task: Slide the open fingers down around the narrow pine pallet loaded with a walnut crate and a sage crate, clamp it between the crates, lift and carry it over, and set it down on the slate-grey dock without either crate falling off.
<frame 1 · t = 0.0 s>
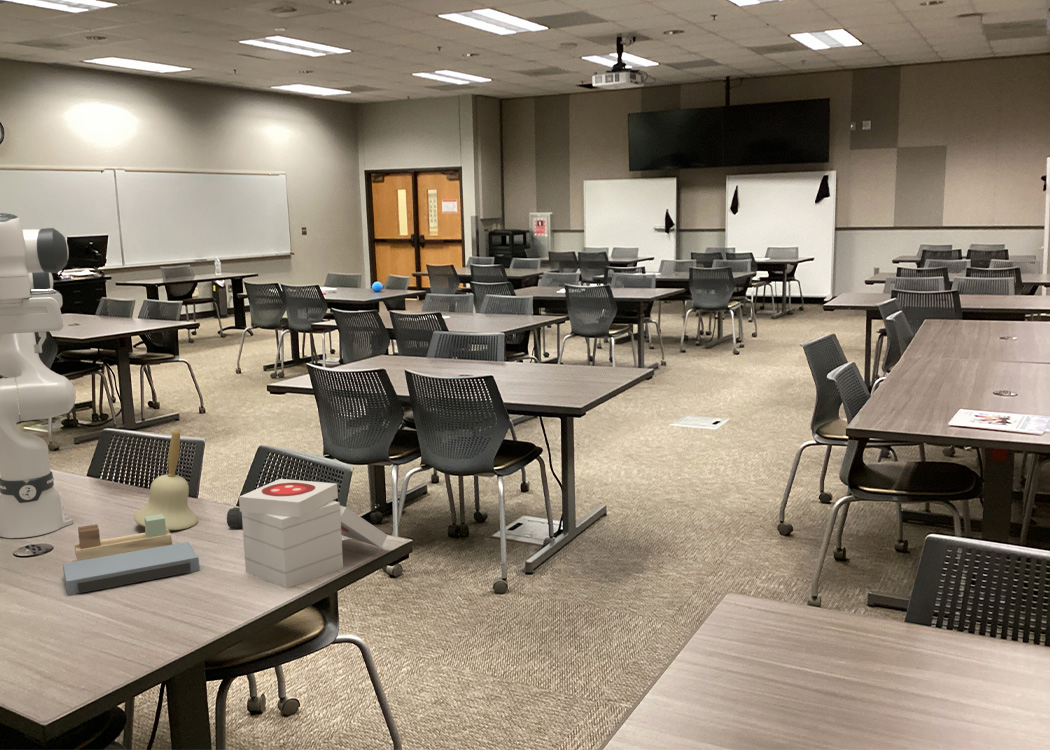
hand: (13, 354, 197), 48 cm above the table, fingers open, 8 cm apart
crate b: (155, 534, 213), point 4 cm above the table, touching pallet
handbell: (166, 525, 233), on the table
flashlight: (260, 528, 229), on the table
pallet: (125, 556, 210), on the table, touching crate a, crate b
pizza boxes: (314, 563, 204), on the table
dock: (132, 573, 199), on the table
crate a: (89, 545, 206), point 4 cm above the table, touching pallet
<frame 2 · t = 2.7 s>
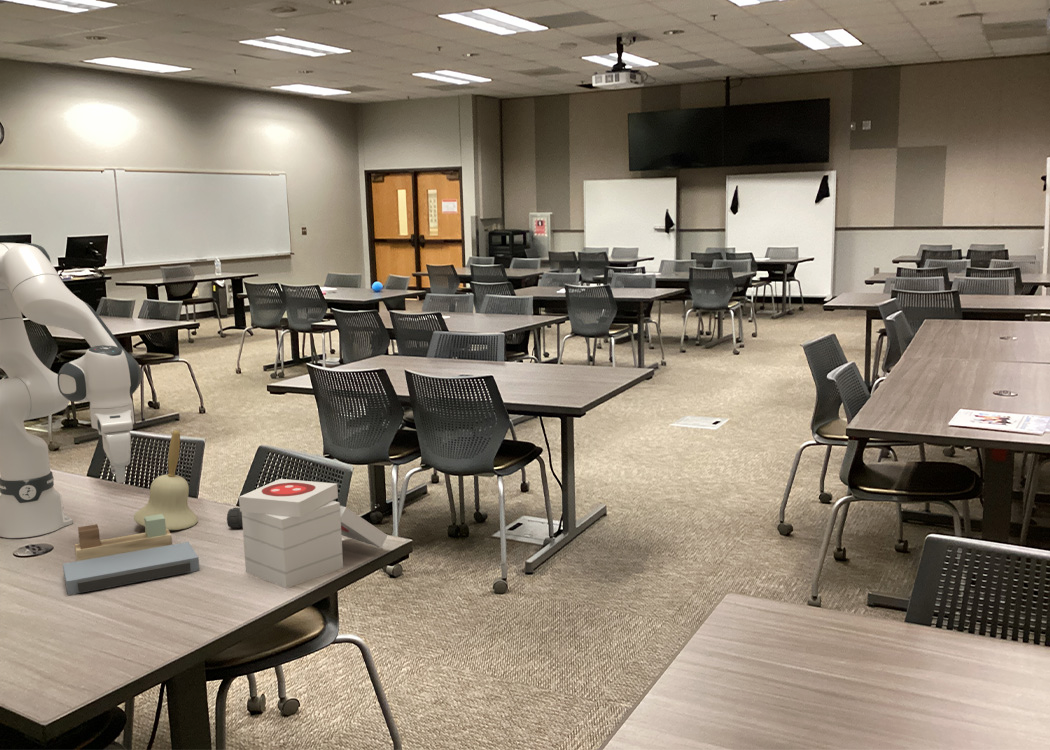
hand: (118, 477, 207), 19 cm above the table, fingers open, 8 cm apart
nothing on the table moved.
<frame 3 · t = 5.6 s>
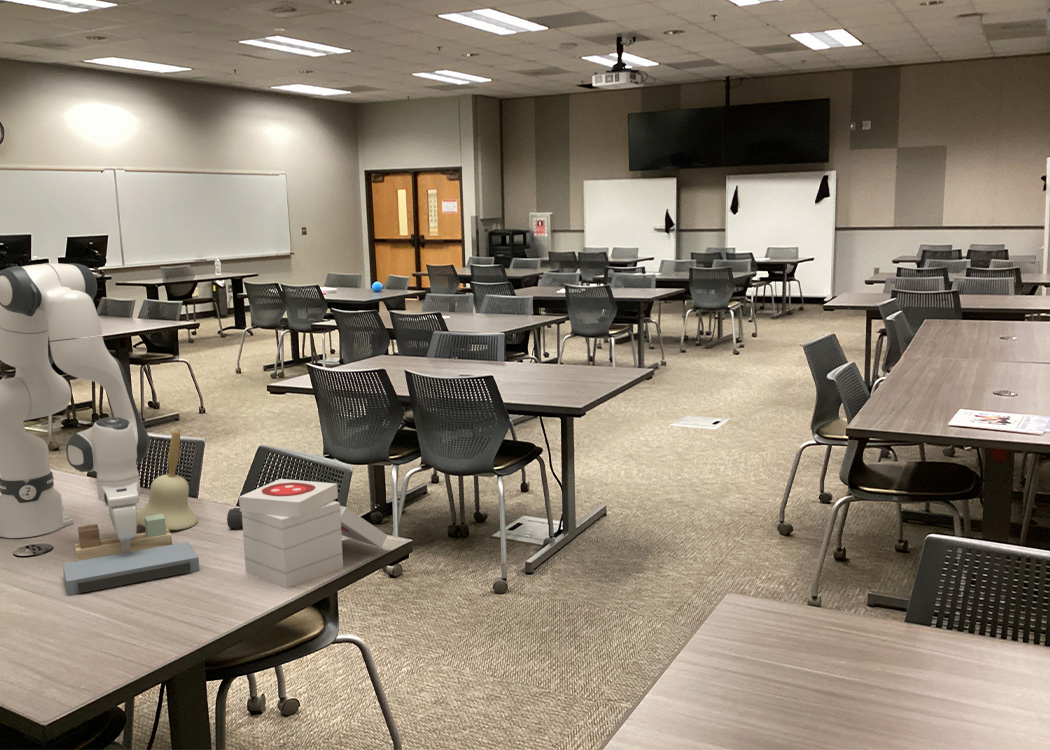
hand: (124, 547, 210), 2 cm above the table, fingers closed on pallet, 5 cm apart
pallet: (125, 556, 210), on the table, touching crate a, crate b, gripper
everything else where it was.
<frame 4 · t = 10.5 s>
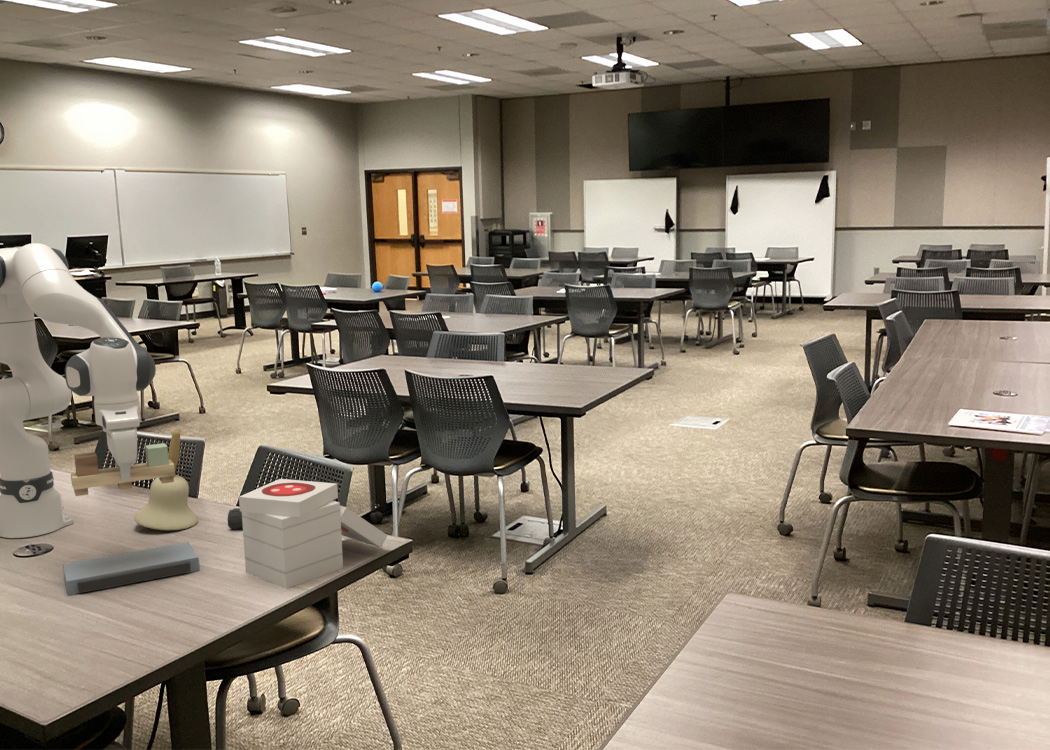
hand: (123, 477, 196), 22 cm above the table, fingers closed on pallet, 5 cm apart
crate b: (157, 463, 200), point 23 cm above the table, touching pallet
pallet: (124, 486, 197), point 19 cm above the table, touching crate a, crate b, gripper
crate a: (87, 473, 193), point 23 cm above the table, touching pallet
everything else where it was.
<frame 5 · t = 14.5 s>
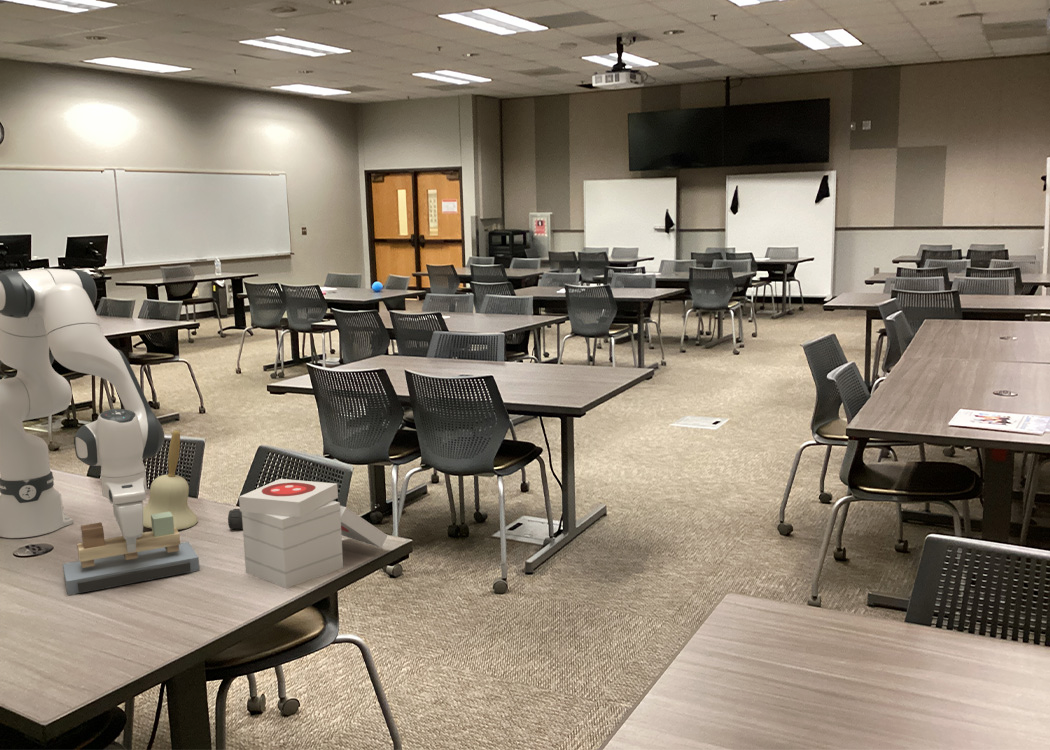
hand: (129, 546, 198), 6 cm above the table, fingers closed on pallet, 5 cm apart
crate b: (163, 532, 201), point 8 cm above the table, touching pallet
pallet: (130, 556, 199), point 4 cm above the table, touching crate a, crate b, gripper
crate a: (93, 544, 195), point 8 cm above the table, touching pallet
everything else where it was.
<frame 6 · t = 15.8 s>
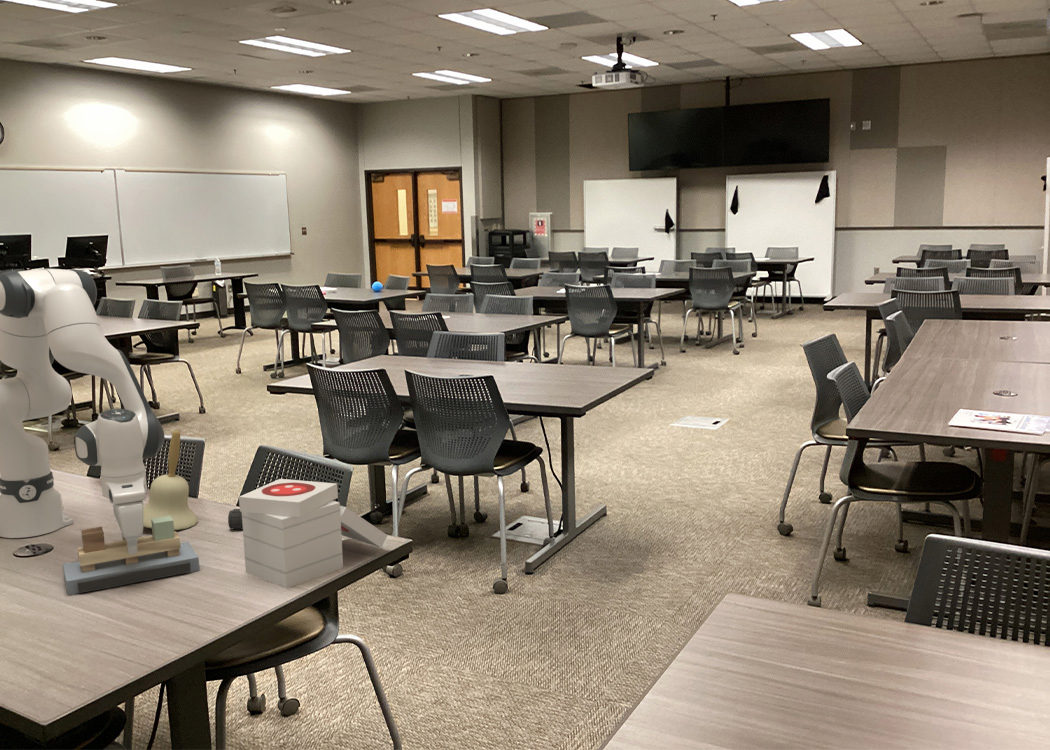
hand: (129, 546, 198), 6 cm above the table, fingers open, 8 cm apart
pallet: (130, 560, 199), point 3 cm above the table, touching crate a, crate b, dock
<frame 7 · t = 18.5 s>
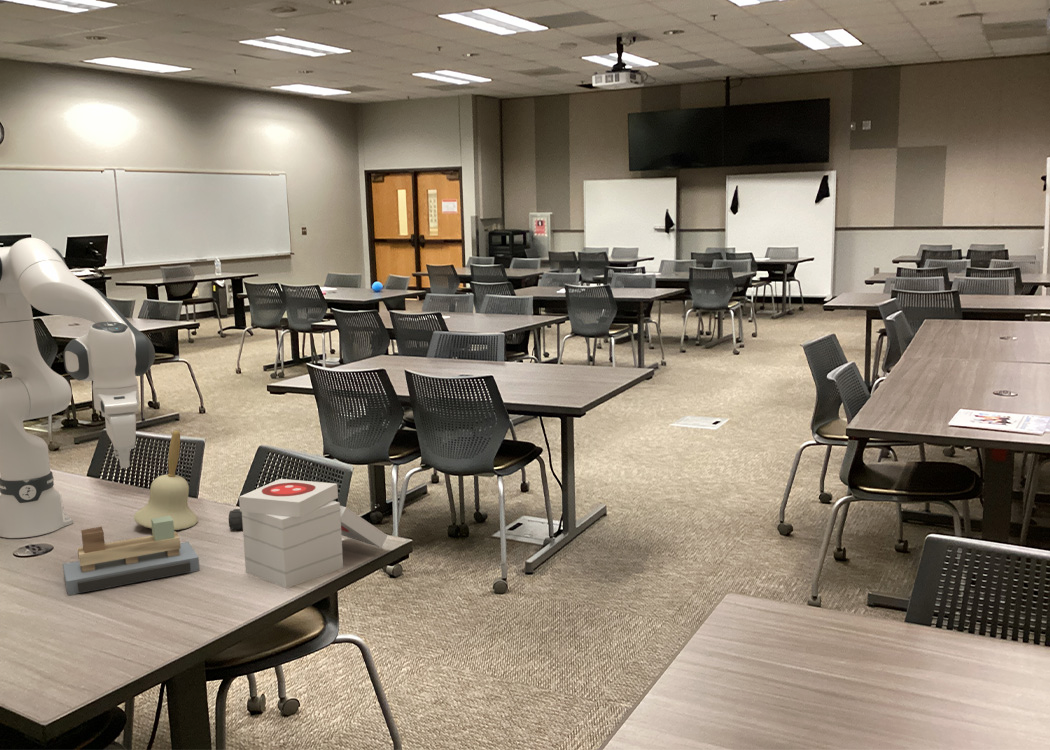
hand: (122, 462, 195), 25 cm above the table, fingers open, 8 cm apart
nothing on the table moved.
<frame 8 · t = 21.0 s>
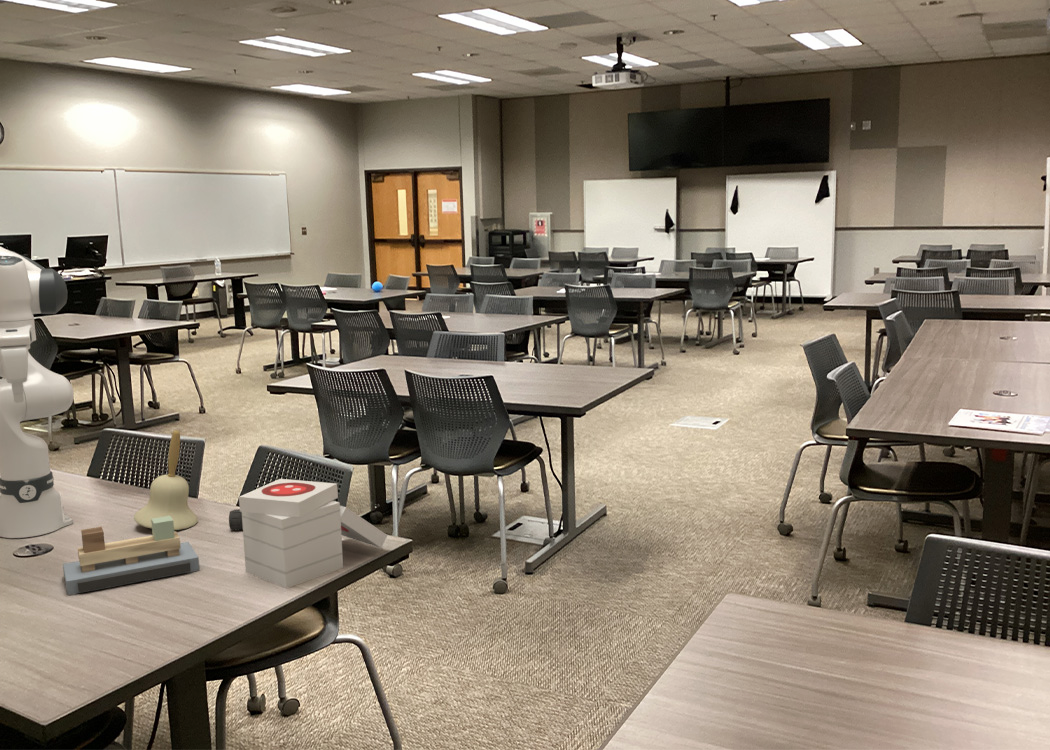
hand: (18, 398, 194), 39 cm above the table, fingers open, 8 cm apart
nothing on the table moved.
at the end: pallet inside the target area on the dock (0.1 cm from its centre), point 3.0 cm above the dock's base; crate a point 7.0 cm above the table; crate b point 7.0 cm above the table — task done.
